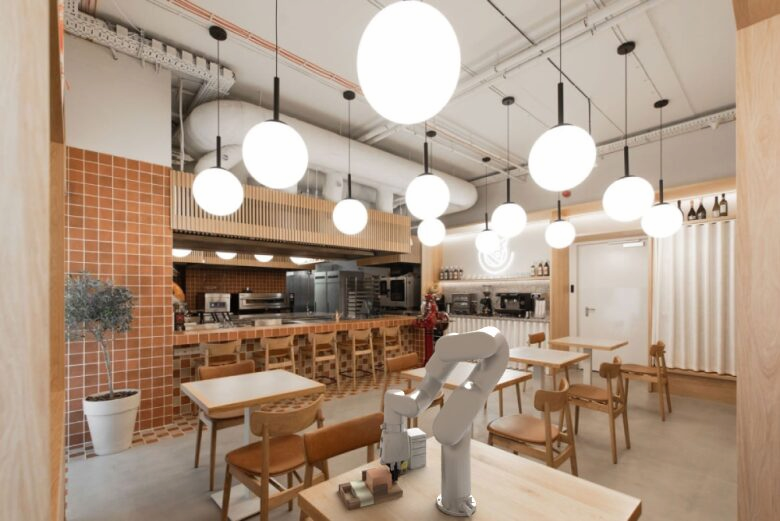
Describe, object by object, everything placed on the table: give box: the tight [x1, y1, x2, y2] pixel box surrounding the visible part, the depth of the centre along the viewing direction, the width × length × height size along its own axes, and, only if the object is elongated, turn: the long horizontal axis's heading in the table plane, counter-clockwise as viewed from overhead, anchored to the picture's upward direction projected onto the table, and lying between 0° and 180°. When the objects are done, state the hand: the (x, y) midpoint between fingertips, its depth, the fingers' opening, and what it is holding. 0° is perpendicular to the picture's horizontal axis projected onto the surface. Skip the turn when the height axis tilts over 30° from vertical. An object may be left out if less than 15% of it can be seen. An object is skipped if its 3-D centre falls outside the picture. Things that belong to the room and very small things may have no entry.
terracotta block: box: [365, 466, 392, 493], centre depth 126 cm, size 6×7×4 cm
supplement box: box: [406, 427, 427, 470], centre depth 147 cm, size 7×7×13 cm
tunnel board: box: [338, 467, 404, 511], centre depth 125 cm, size 12×19×5 cm, turn 113°
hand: (394, 479), depth 129 cm, fingers closed
